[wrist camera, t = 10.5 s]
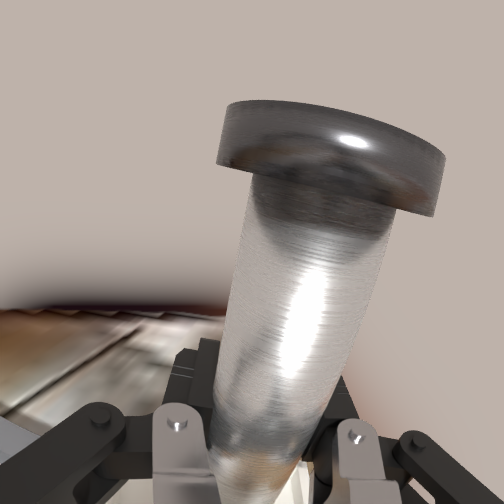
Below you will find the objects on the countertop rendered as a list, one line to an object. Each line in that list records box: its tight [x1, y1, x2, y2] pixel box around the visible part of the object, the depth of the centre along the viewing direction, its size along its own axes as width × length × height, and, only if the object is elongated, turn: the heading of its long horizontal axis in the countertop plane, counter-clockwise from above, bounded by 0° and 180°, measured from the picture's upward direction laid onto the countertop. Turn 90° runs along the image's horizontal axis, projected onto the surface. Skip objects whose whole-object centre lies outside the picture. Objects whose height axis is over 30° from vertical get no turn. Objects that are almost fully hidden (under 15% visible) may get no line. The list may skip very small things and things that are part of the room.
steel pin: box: [206, 100, 446, 504], centre depth 9 cm, size 5×5×18 cm
